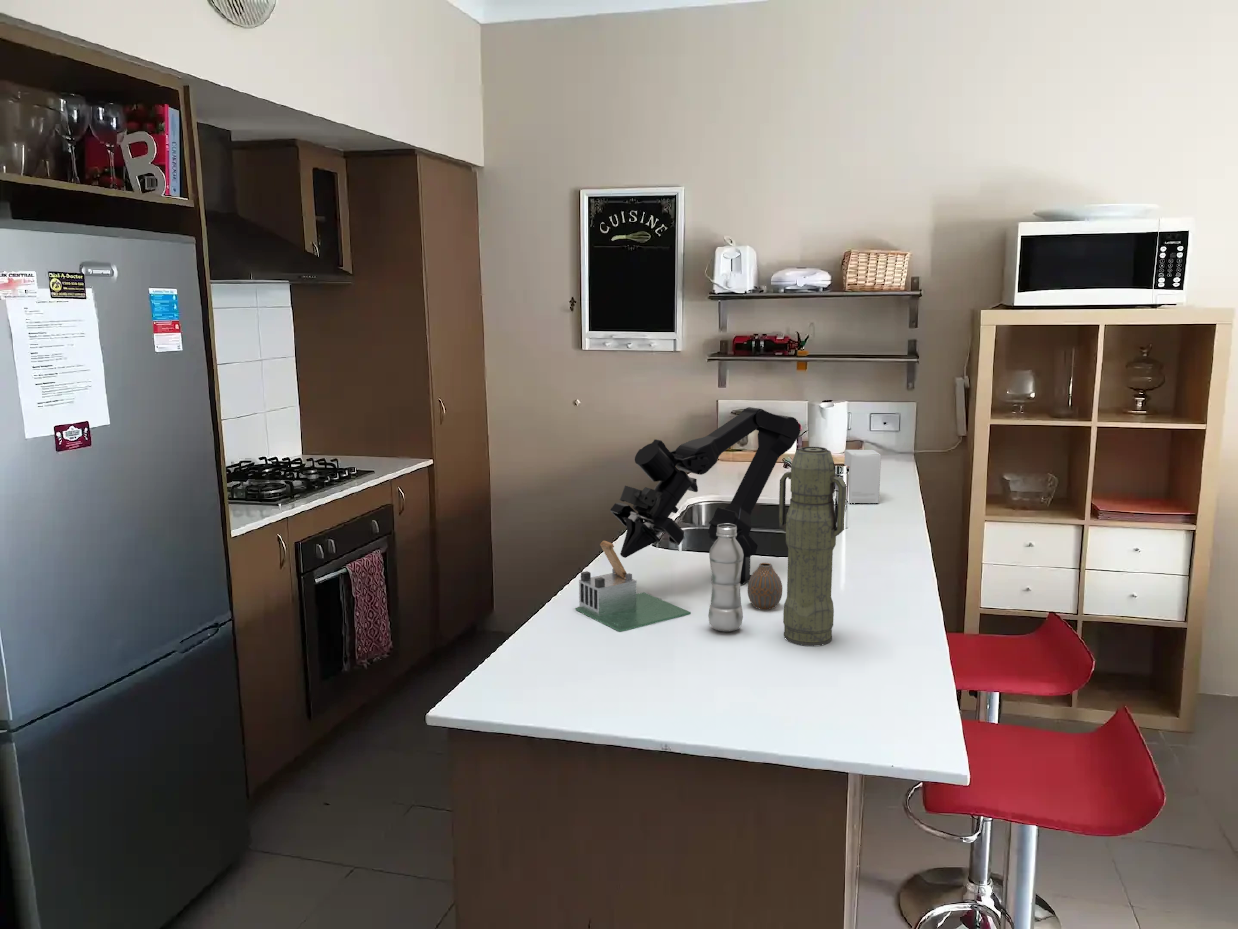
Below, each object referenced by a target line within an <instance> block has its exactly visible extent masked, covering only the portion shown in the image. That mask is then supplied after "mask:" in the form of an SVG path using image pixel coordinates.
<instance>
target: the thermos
mask: <svg viewBox="0 0 1238 929" xmlns="http://www.w3.org/2000/svg"><path fill="white" fill-rule="evenodd" d="M834 461H835V460H834V458H833V455H832V452H831V451H830V450H828V448H826V447H822V446H821V447H820V446H802V447H800V448H799V449H796V450H795V453H794V455H793V458H792V461H791V463H790V464H791V465H790V471H786V472H785V473H784V474H783V475H782V476H781V477H780V479H779V493H778V494H779V495H778V496H779V497H778V500H779V501H778V503H779V504H778V505H779V506H778V521H779V522H778V524H779V529H782V530H783V532H785V544H786V547H787V548H788V549H787V581H786V582H787V584H786V599H785V601H784V605H783V612H782V613H783V616H782V618H783V619H782V621H783V622H782V623H783V626H784V629H783V630H784V631H783V638H784V639H785V638H786V639H787V640H788V641H787V640H786V639H785V640H786V641H787V642H789V643H791V644H794V645H798V644H802V645H801V646H804V645H813V646H812V647H815V646H814V645H820V646H823V645H822V644H824V645H827V644H829V643H830V641H831V642H832V640H833V633H832V631H833V627H834V615H835V614H834V612H835V611H834V602H833V599H832V583H833V582H832V581H833V555H834V553H833V552H834V549H835V547H836V545H837V544H836V543H837V536H839V535H840V534H842V533H843V531H845V513H846V502H847V501H846V487H847V486H846V484H845V482H844V478H842V477H840V476H837V474H836V473H835V472H836V471H835V470H836V468H835V467H836V465H835V462H834ZM787 479H788V480H790V493H791V495H790V496H791V498H790V500H789V507H788V508H787V509H788V510H787V513H786V497H787V496H786V492H787V491H786V490H787V488H786V487H787ZM835 484H836V486H837V487H838V490H837V494H838V495H837V512H836V511H835V508H834V506H835V505H834V504H835V503H834V502H835V501H834V498H833V496H834V495H833V494H834V493H835ZM836 513H837V514H836ZM831 639H832V640H831Z"/></svg>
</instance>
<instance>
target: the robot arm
mask: <svg viewBox="0 0 1238 929" xmlns="http://www.w3.org/2000/svg"><path fill="white" fill-rule="evenodd" d="M754 431H758V433H757V446H758V447H757V450H756V452H755V453H754V456H753V457H752V460H751V461H750V464H749V465H748V467H747V469H746V471H745V473H744V475H743V477H742V480H741V482H740V484H739V485H738V488H737V490H736V492H735V493H734V496H733V497H732V499H731V502H730V503H729V505H727V506H726V507H725V508H722V507H717V508H716V509H715V512H714V515H713V516H712V518H711V520H710V521H708V524H709V527H708V534H709V536H708V537H709V539H710V541H711V543H712V545H713V544H714V543H715V541H716V540H717V539H718V536H716V533H717V525H719V524H734V525H736V527H737V536H736V537H735V538H736V540H737V541H738V543H739V544H740V546H741V548H742V550H743V554H744V556H743V563H742V570H741V580H740V585H745V584H746V583H747V582H749V579H750V577H751V576H752V574H751V558H752V556H755V555H756V553H757V550H758V547H759V545H758V544H757V543H756V542H755V541H754V540H753V539H752V537H751V536H750V533H751V530H752V519H751V518H752V517H751V516H752V512H753V511H754V509H755V506H756V504H757V503H758V500H759V499H760V496H761V494H762V492H763V490H764V488H765V486H766V484H767V482H768V480H769V479H770V476H771V474H772V472H773V470H774V468H775V466H776V464H777V462H778V460H779V458H780V457H781V456H782V455H784V454H785V453H787V452H788V451H789V450H791V448H792V447H793V445H794V444H795V443H796V441H797V440H798V439H799V436H800V433H801V428H800V424H799V422H798V419H797V418H796V417H793V416H788V415H787V416H786V415H781V414H775V413H772V412H769V411H766V410H765V409H763V408H758V407H753V406H752V407H750V406H749V407H746V408H744V409H742V410H741V412H740V413H739V414H737V415H736V416H735V417H733V418H732V419H730V420H729V421H727V422H726V423H724V424H722V425H721V426H720V427H718V428H717V429H714V431H712V432H710V433H709V434H708V435H706V436H702V437H700V438H695V439H692V440H689V441H686V442H684V443H681V444H679V446H677V447H676V449H674V450H672V451H671V450H669V449H668V448H667V446H666V445H665V443H664V442H663V440H661V439H655V438H654V439H653V441H652V442H651V443H648V444H646V445H645V446H643V447H642V448H641V449H640V448H639V449H638V451H637V452H636V453H635V456H634V463H635V464H636V465H637V466H638V467H639V469H641V470H642V472H643V473H644V474H645V475H646V476H647V477H648V478H649V479H650V480H651V482H654V483H655V482H658V483H657V484H656V486H655V487H654V488H653V489H652V488H649V487H644V488H643V489H642V490H641V489H638V488H635V487H632V486H628V485H624V487H623V489H622V493H621V496H620V497H619V501H621V502H615V503H614V504H613V505H612V507H611V508H610V510H609V511H610V513H611V514H612V516H613V517H615V518H616V519H617V520H618V521H619V522H620V523H621V525H623V526H624V527H625V528H626V533H625V536H624V540H623V545H622V547H621V549H620V553H619V555H620V556H621V557H622V558H627V557H630V556H632V555H633V554H635V553H637V552H640V551H641V550H642V549H644V548H647V547H649V546H650V545H654V544H655V543H660V542H661V539H660V538H661V535H662V534H667V535H668V541H669V542H670V543H672V544H674V545H676V546H680V545H681V543H682V542H683V540H684V539H685V531H684V530H683V528H681V526H680V525H678V523H677V522H676V521H675V520H674V519H673V518H671V517H669V516H670V515H671V514H677V513H678V512H679V508H678V507H677V506H678V504H679V503H680V501H681V500H682V499H683V497H684V496H685V494H686V493H687V492H688V491H690V492H694V493H698V491H699V488H698V487H699V486H698V484H697V483H698V482H697V481H698V480H697V478H694V477H690V476H689V475H688V474H687V473H691V474H695V475H699V476H700V475H701V476H702V475H705V474H706V473H708V472H709V470H710V469H712V468H713V467H714V466H715V465H716V464H717V463H718V460H719V458H720V455H722V454H723V453H724V452H726V451H727V450H728V449H730V448H731V447H733V446H734V445H735V444H737V443H738V442H740V441H741V440H743V439H744V438H746V437H747V436H749V435H750V434H752V433H753V432H754ZM622 502H626V503H628V504H626V503H622ZM630 504H631V505H632V506H630Z"/></svg>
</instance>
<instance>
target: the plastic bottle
mask: <svg viewBox="0 0 1238 929" xmlns="http://www.w3.org/2000/svg"><path fill="white" fill-rule="evenodd" d="M716 536H718V539H717V540H716V541H715V543H714V544H713V543H712V546H711V547H710V548H709V552H708V554H709V556H708V557H709V564H710V571H711V595H710V604H709V609H708V621H709V625H710V626H711V628H712V629H713V630H714V631H719V632H734V631H737V630H739V629H740V627H742V624H743V620H744V613H743V607H742V600H741V584H740V580H741V570H742V563H743V556H744V554H743V550H742V548H741V546H740V544H739V543H738V541H737V540H736V538H735V537H736V536H737V527H736V525H734V524H719V525H717V533H716Z"/></svg>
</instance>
